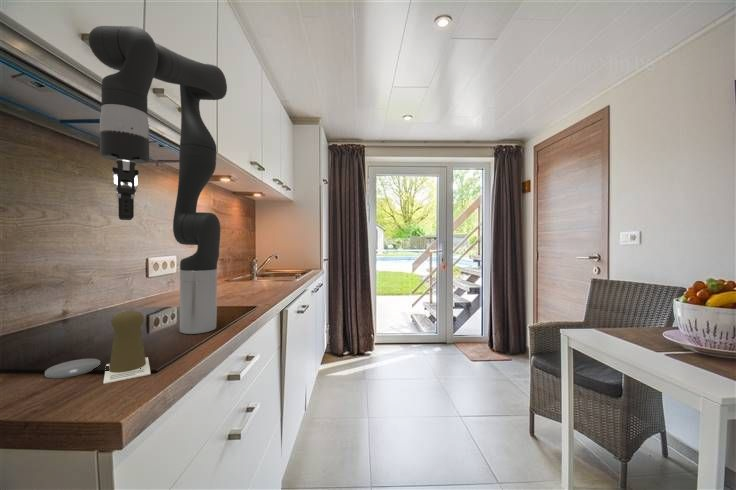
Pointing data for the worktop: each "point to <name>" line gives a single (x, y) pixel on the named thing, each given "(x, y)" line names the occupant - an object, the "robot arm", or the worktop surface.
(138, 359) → the cork
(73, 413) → the worktop surface
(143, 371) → the letter
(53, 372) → the coaster
